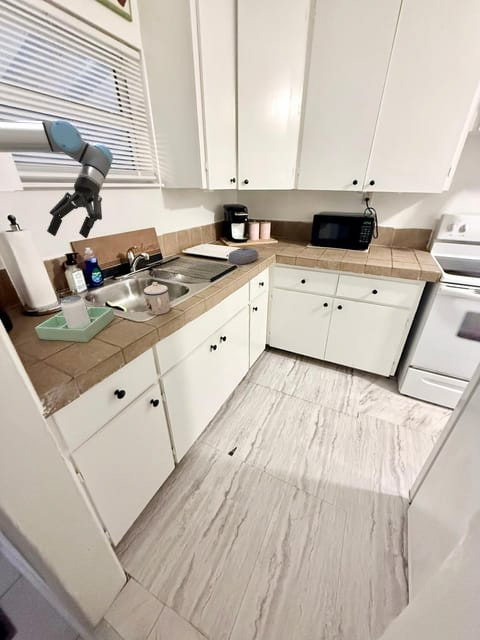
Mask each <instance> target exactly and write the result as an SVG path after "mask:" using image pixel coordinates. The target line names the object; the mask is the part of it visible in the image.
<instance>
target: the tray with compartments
mask: <svg viewBox="0 0 480 640" xmlns="http://www.w3.org/2000/svg"><path fill="white" fill-rule="evenodd" d="M86 309H87V312H88V316H89V319H90V322H91V324H89V325H88V326H87V327H86V328H84V329H83V330H81V329H69V328H68V325H67V323H66V320H65V317H64V314H63V311H62V310H61V311H60V312H58V313H56V314H55V315H53V316H52V317H50V318H48V319H46V320H44V321H43V322H42V323H39V325H36V326H35V327H34V329H35V331H36V334H37V336H38V339H39V340H49V341H65V342H81V343H88V342H89V341H90V340H92V339H93V338H94V337H95V336H96V335H98V333H100V332H101V331H102V330H103V329H105V327H107V326H108V325H109V324H110V323H112V322H113V321H114V320H115V319H116V317H115V313H114V310H113V307H98V306H86Z"/></svg>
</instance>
